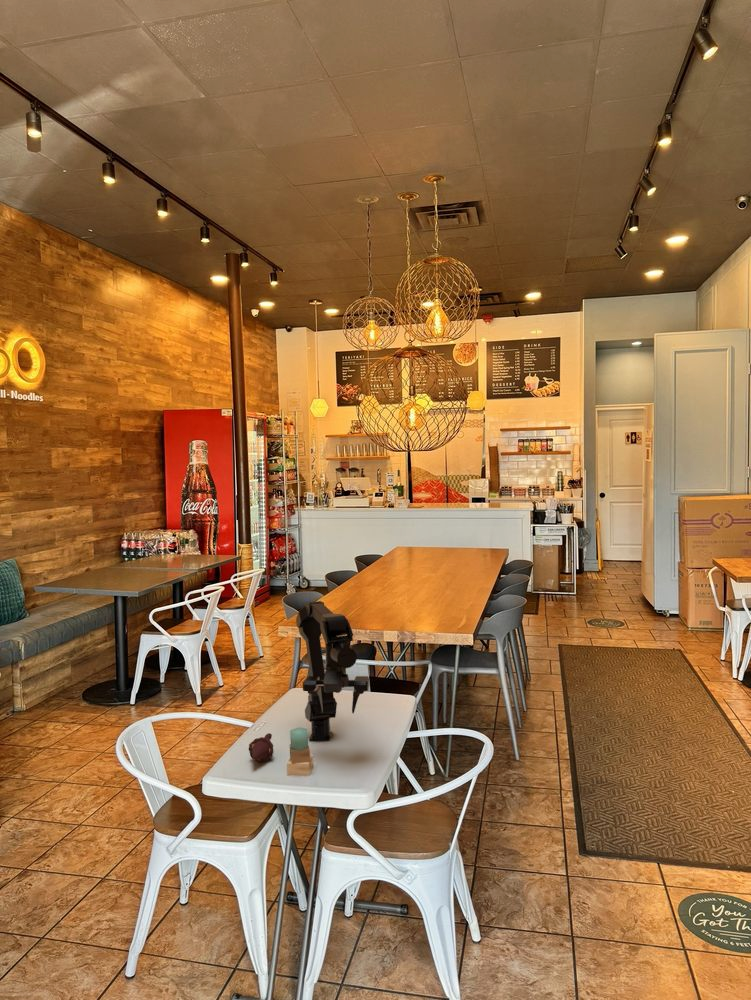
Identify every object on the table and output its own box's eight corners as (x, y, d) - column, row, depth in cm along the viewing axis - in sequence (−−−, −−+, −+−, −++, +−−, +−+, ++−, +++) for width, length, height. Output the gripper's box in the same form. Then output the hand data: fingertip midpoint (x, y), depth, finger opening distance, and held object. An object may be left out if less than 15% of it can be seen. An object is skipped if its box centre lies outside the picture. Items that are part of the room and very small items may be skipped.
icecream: (269, 749, 194) (283, 733, 209) (243, 741, 195) (259, 727, 210) (263, 773, 194) (277, 756, 208) (238, 766, 195) (254, 750, 210)
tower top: (290, 756, 196) (289, 744, 196) (307, 754, 197) (307, 742, 197) (291, 763, 191) (291, 751, 191) (310, 761, 192) (309, 749, 192)
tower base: (292, 766, 198) (292, 754, 197) (313, 767, 197) (312, 754, 197) (287, 775, 192) (286, 763, 191) (308, 776, 191) (308, 763, 191)
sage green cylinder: (292, 743, 196) (291, 728, 196) (309, 743, 196) (308, 727, 196) (289, 750, 191) (289, 734, 191) (307, 750, 191) (306, 733, 191)
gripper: (297, 667, 194) (299, 722, 195) (364, 667, 193) (366, 723, 193) (305, 656, 206) (307, 709, 206) (369, 656, 204) (370, 709, 204)
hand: (337, 713), depth 202 cm, fingers open, 9 cm apart
